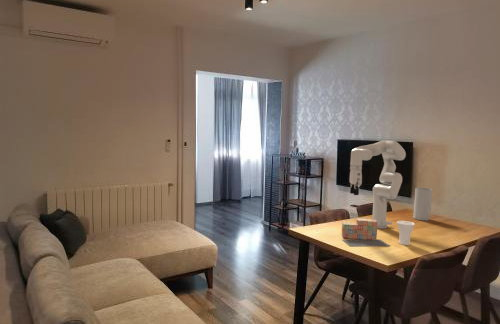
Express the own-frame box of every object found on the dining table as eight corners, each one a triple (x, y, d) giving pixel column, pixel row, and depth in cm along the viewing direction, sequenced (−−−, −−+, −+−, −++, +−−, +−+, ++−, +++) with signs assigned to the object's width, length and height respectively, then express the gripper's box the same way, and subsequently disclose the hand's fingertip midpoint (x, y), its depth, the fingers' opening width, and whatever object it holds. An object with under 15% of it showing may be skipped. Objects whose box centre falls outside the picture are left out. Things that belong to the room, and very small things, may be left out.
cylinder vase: (411, 219, 300) (414, 188, 298) (414, 216, 311) (417, 187, 308) (428, 221, 293) (431, 190, 291) (431, 218, 304) (433, 189, 301)
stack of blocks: (342, 238, 239) (343, 219, 238) (341, 235, 246) (342, 217, 245) (376, 240, 237) (377, 221, 236) (374, 237, 243) (375, 219, 243)
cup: (415, 246, 227) (416, 225, 226) (397, 245, 229) (398, 224, 227) (410, 241, 237) (412, 221, 236) (393, 240, 239) (395, 220, 238)
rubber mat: (379, 239, 240) (379, 239, 240) (390, 246, 227) (390, 245, 227) (341, 239, 236) (341, 239, 236) (350, 246, 223) (350, 246, 223)
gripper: (366, 169, 240) (365, 196, 242) (355, 166, 257) (354, 192, 259) (355, 169, 239) (354, 196, 241) (345, 166, 256) (344, 191, 258)
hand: (354, 193), depth 250 cm, fingers open, 5 cm apart
